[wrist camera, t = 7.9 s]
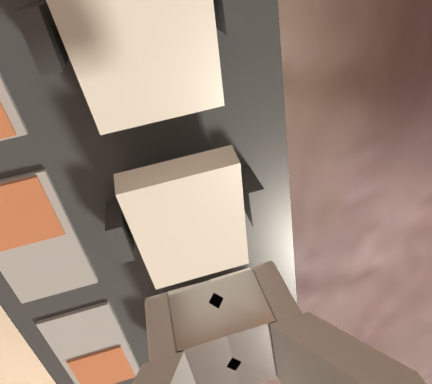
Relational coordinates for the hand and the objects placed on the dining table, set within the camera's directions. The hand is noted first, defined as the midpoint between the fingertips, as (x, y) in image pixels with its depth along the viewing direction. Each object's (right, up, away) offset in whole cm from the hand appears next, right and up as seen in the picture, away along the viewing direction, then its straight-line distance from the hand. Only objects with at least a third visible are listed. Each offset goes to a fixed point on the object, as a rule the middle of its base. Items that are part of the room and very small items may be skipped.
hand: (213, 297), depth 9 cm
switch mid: (-1, +2, +6) cm, 6 cm away
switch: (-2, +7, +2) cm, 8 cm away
